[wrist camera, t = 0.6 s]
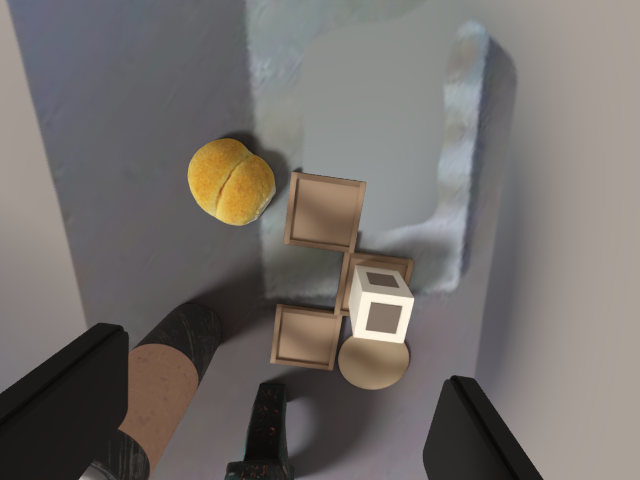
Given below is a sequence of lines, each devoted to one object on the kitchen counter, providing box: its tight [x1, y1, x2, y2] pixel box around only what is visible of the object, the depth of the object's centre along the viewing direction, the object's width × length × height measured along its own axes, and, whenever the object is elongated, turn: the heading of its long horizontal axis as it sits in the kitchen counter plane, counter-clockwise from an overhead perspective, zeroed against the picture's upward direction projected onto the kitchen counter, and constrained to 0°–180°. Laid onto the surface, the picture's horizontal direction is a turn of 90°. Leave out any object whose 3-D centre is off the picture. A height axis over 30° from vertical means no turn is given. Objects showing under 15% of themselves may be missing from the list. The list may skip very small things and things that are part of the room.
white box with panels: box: [348, 265, 414, 343], centre depth 34 cm, size 5×5×7 cm
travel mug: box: [79, 304, 222, 480], centre depth 30 cm, size 8×8×20 cm
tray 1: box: [284, 171, 366, 253], centre depth 35 cm, size 8×8×1 cm
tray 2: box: [270, 304, 342, 371], centre depth 39 cm, size 8×8×1 cm
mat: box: [338, 334, 409, 390], centre depth 40 cm, size 9×9×1 cm
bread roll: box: [188, 138, 276, 226], centre depth 33 cm, size 8×9×4 cm
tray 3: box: [334, 251, 414, 316], centre depth 37 cm, size 8×8×1 cm
